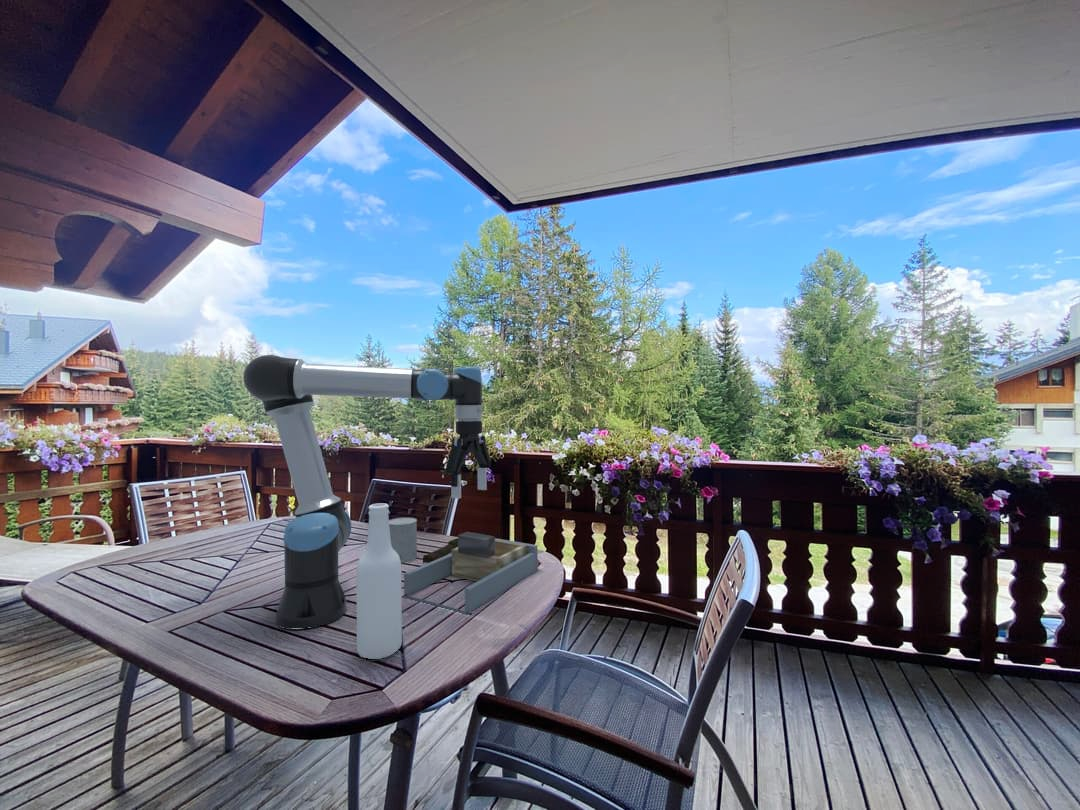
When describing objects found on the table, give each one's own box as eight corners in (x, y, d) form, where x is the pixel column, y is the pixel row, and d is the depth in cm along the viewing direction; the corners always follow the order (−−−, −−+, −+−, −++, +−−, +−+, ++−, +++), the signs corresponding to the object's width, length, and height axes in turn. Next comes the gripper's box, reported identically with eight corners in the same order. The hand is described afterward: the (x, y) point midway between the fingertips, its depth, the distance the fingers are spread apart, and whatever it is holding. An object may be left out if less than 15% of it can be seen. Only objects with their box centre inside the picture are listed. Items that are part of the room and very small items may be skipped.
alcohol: (403, 656, 92) (402, 507, 92) (355, 665, 89) (354, 511, 89) (400, 636, 100) (399, 499, 100) (357, 643, 97) (356, 502, 97)
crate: (497, 588, 123) (496, 541, 123) (448, 577, 132) (448, 533, 132) (527, 570, 137) (526, 528, 137) (481, 561, 145) (481, 521, 145)
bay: (470, 616, 109) (470, 581, 109) (404, 598, 120) (404, 565, 120) (537, 573, 137) (537, 545, 137) (478, 561, 148) (478, 535, 148)
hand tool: (432, 568, 143) (432, 553, 143) (421, 566, 145) (422, 551, 145) (466, 551, 160) (467, 538, 160) (457, 549, 162) (457, 536, 162)
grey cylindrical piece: (381, 561, 150) (381, 523, 150) (398, 552, 159) (398, 516, 159) (406, 563, 147) (406, 525, 147) (422, 554, 156) (422, 518, 156)
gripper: (454, 421, 120) (455, 503, 119) (501, 419, 142) (502, 487, 142) (431, 421, 123) (432, 501, 123) (480, 419, 145) (481, 485, 145)
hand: (469, 493), depth 132 cm, fingers open, 13 cm apart
